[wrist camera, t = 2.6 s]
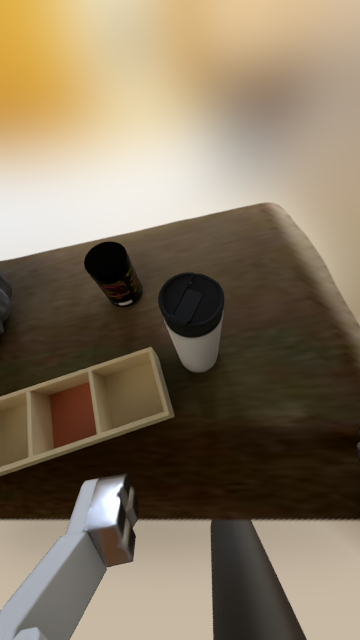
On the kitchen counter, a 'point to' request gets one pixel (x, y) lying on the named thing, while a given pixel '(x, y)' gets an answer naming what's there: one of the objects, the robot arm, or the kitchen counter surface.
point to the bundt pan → (4, 300)
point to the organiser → (82, 409)
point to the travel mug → (193, 318)
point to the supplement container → (114, 273)
